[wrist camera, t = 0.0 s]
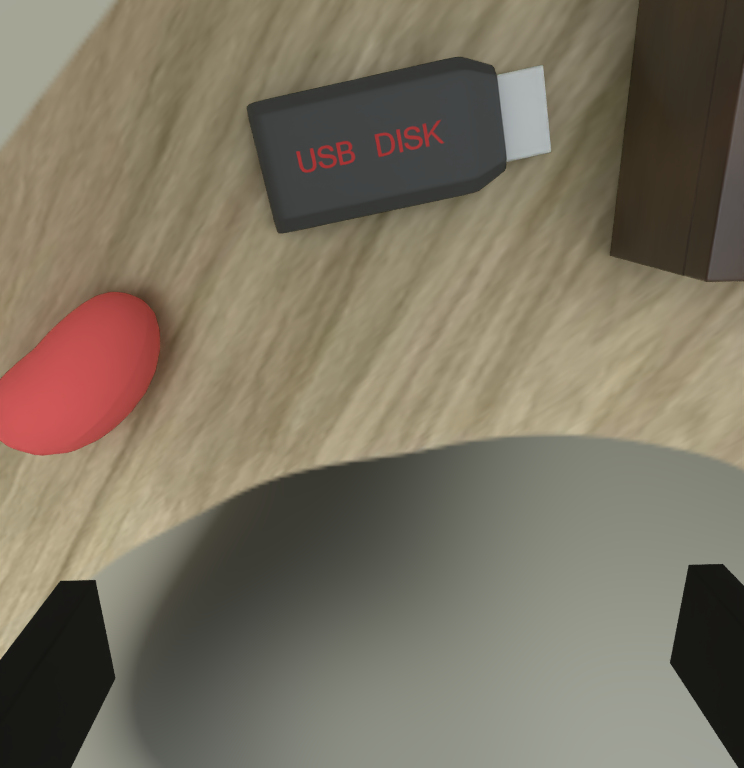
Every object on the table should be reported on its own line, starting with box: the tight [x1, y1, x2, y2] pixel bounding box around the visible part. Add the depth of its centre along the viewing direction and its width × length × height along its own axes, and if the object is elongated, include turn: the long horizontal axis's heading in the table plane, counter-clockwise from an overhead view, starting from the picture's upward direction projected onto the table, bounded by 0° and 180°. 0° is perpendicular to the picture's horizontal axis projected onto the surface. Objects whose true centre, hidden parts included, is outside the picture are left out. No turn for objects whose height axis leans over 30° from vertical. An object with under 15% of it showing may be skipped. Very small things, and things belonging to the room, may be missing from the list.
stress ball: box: [0, 292, 160, 455], centre depth 27 cm, size 5×9×6 cm, turn 118°
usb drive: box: [247, 57, 551, 233], centre depth 24 cm, size 5×12×3 cm, turn 102°
